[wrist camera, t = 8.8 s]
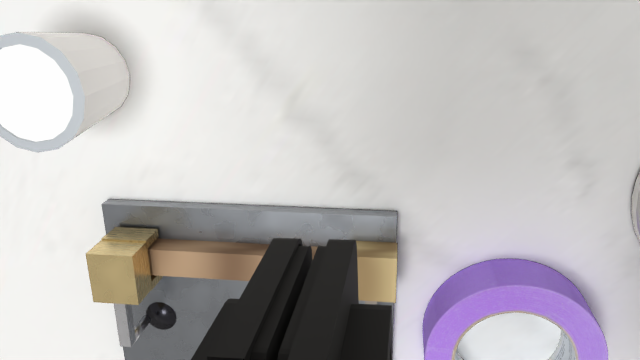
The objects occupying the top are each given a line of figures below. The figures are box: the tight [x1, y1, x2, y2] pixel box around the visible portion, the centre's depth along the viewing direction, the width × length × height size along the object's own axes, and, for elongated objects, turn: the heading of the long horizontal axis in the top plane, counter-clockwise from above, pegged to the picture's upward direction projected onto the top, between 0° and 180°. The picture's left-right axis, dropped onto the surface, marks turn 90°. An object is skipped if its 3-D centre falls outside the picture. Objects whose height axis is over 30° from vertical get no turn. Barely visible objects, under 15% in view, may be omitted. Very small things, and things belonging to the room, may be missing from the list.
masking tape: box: [423, 259, 608, 360], centre depth 39 cm, size 12×12×4 cm
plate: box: [102, 199, 397, 360], centre depth 42 cm, size 21×14×1 cm, turn 91°
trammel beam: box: [96, 238, 397, 304], centre depth 40 cm, size 21×7×2 cm, turn 91°
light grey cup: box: [0, 32, 130, 152], centre depth 35 cm, size 7×7×7 cm
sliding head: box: [86, 227, 163, 347], centre depth 40 cm, size 3×8×4 cm, turn 1°
